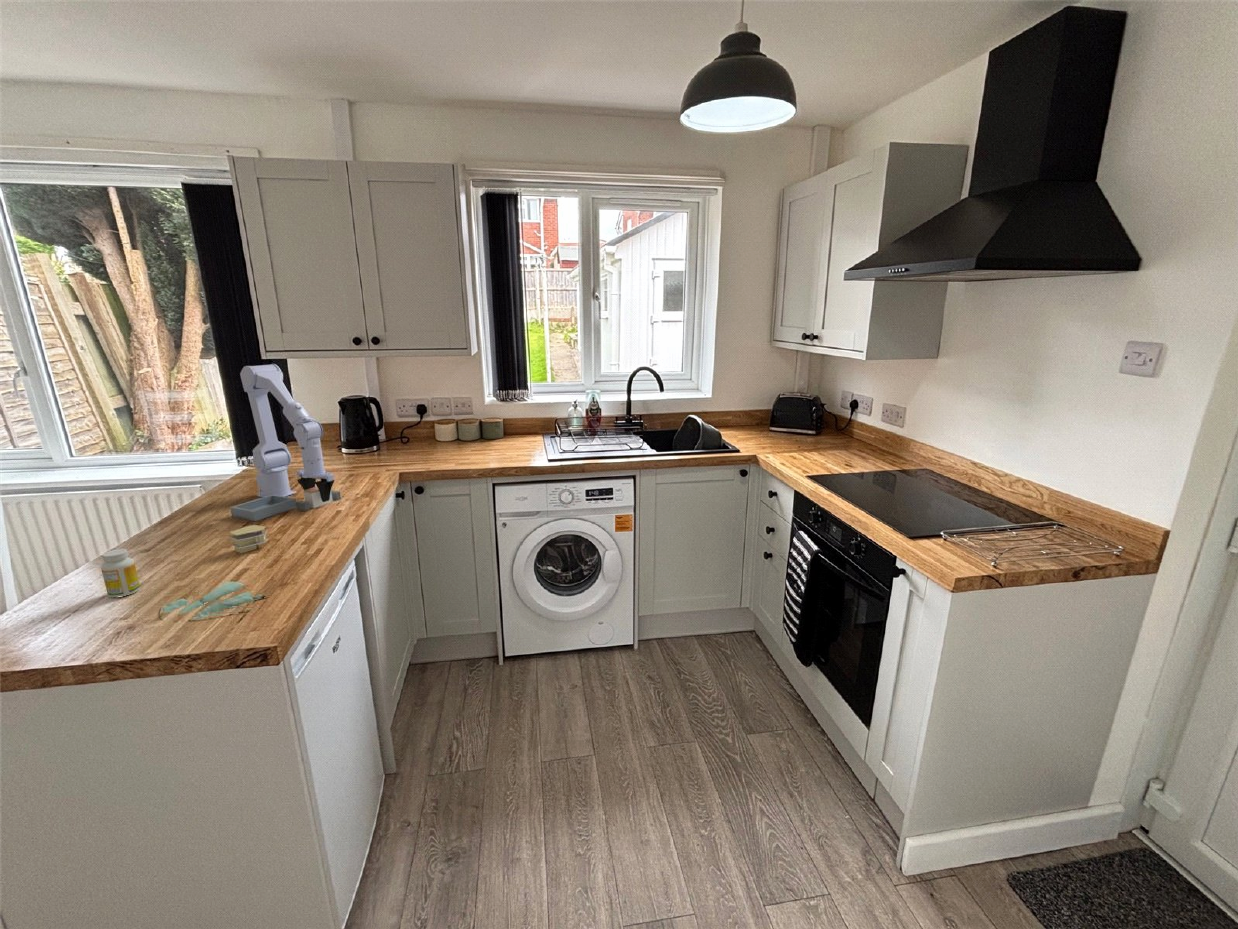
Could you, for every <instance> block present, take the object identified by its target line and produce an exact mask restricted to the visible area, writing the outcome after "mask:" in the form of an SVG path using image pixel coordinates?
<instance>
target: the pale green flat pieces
mask: <svg viewBox="0 0 1238 929" xmlns="http://www.w3.org/2000/svg"><path fill="white" fill-rule="evenodd" d="M243 585H244V586H245V584H243V583H241V582H239V581H238V582H237V581H229V580H228V581H226V582H225V583H222V584H221V585H219V586H218V587H216V588H215V589H213V590H212V591H210V592H208V593H206V594H204V595H203V596H202V597H201V598H200V600H199V599H197V600H194V601H195V602H193V603H192V604H190V605H187V603H189V600H185V599H184V598H180V599H176V600H174V601H172V602H170V603H169V604H164V605H165V606H164V605H163V606H164V607H163V608H162V609H163V611H162V613H168V612H171V611H172V610H173V611H174V610H175V609H179V608H180V607H182V606H187V607H186V608H184V609H182V610H181V611H180V612H179V613H181V614H182V613H187V612H189V611H192V610H193V609H197V608H199V607H200V606H206V605H204V603H206V602H211V601H214V600H215V599H218V600H220V599H221V598H220V597H222V596H224V597H226V596H228V595H231V594H233V593H232V592H234V593H235V592H237V591H239V590H240V588H241V587H242V588H244V587H243ZM242 588H241V589H242ZM238 589H239V590H238ZM236 590H237V591H236ZM230 593H231V594H230ZM227 594H228V595H227ZM251 595H252V594H251V592H250V590H248V591H244V592H242V593H239V594H237V595H235V596H232V597H228V598H226V599H223V600H222V601H219V602H216V601H214V602H212V603H210V604H209V605H208V606H206V608H205V609H204V610H202V611H201V612H198V613H197V614H196V615H194V616H197V617H193V618H191V619H196V618H199V619H201V618H202V617H208V616H218V615H223V614H215V615H209V613H218V612H219V611H224V610H225V609H233V608H236V607H232V606H239V605H241V604H244V603H248V602H254V599H259V598H264V597H267V596H266V595H265V594H262V593H260V594H258V595H256V596H255V597H252V596H251ZM219 598H220V599H219ZM222 598H223V597H222ZM246 609H252V608H246ZM235 612H240V611H239V610H238V611H234V613H235ZM228 613H233V612H228Z"/></svg>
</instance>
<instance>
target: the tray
mask: <svg viewBox="0 0 1238 929" xmlns="http://www.w3.org/2000/svg"><path fill="white" fill-rule="evenodd" d="M296 502H297V499H296V497H290V496H279V495H269V496H266V497H260V498H257V499H253V500H250V501H246V502H244V503H239V504H236V505H233V506H230V507H229V508H230V509H229V510H230V514H231V517H233V518H237V519H241V520H246V521H251V522H257V521H261V520H264V519H266V518H269V517H272V516H277V515H278V514H282V513H285V512H288V511H290V510H294V509H297V506H296Z"/></svg>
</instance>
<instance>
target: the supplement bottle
mask: <svg viewBox="0 0 1238 929" xmlns="http://www.w3.org/2000/svg"><path fill="white" fill-rule="evenodd" d="M102 561H104V563H103V564H101V567H100V570H101V574H102V578H103V581H104V585H105V590H106V593H107V596H108V597H109V598H111V597H118V596H126V595H128V594H130V593H133V592H135V591H137V590H138V589H139V590H140V588H141V584H140V580H139V577H138V572H137V567H136V564H135V560H134V559H133V558H131V557H129V552H128V550H127V549H126V548H117V549H113V550H109V551H106V552H104V553H102ZM137 592H138V591H137ZM126 597H127V596H126Z"/></svg>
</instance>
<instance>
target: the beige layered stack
mask: <svg viewBox="0 0 1238 929" xmlns="http://www.w3.org/2000/svg"><path fill="white" fill-rule="evenodd" d="M265 529H266V526H264V525H256V524H253V525H247V526H244V527H242V528H238V529H234V530H233V531H232V530H231V531H230V532H229V533H230V534H232V535H233V536H230V539H232V540H233V543H232V544H231V546H232V547H234V550H235V552H237V553H240V554H244V553H247V552H250V551H254V550H257V546H260V545H262V544H264V543H267V541H268V538H267V537H266V534H267V533H268V532H267V530H265Z"/></svg>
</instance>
